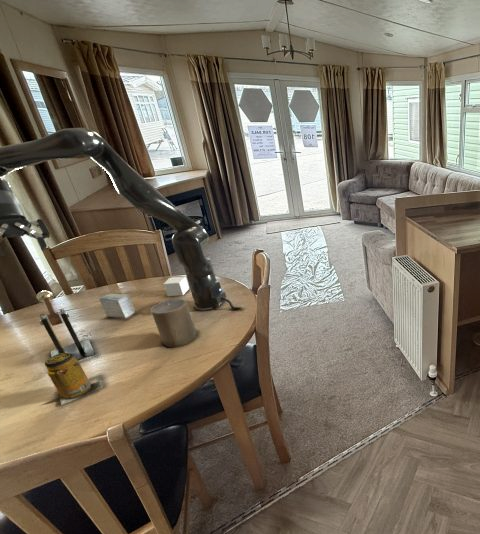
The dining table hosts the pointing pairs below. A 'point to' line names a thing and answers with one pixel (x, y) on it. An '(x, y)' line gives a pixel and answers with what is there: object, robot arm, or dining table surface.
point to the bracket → (79, 347)
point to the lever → (49, 307)
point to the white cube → (176, 286)
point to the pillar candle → (174, 322)
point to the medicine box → (117, 305)
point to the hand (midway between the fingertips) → (23, 252)
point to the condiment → (69, 377)
